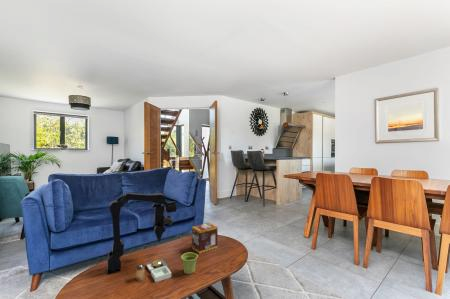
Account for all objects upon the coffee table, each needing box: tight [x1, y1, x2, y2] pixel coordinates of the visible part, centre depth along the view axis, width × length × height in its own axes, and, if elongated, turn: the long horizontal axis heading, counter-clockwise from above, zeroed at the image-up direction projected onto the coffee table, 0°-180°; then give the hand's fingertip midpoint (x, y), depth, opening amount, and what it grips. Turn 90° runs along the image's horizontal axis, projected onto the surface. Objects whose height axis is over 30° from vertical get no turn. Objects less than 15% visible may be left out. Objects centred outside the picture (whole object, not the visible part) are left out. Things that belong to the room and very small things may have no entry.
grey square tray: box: [145, 259, 169, 274], centre depth 130 cm, size 10×10×1 cm
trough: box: [150, 266, 172, 283], centre depth 121 cm, size 9×9×2 cm
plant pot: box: [180, 252, 199, 275], centre depth 125 cm, size 9×9×9 cm
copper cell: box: [136, 264, 146, 282], centre depth 118 cm, size 4×4×7 cm
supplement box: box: [191, 222, 219, 254], centre depth 156 cm, size 10×15×16 cm
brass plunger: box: [151, 259, 162, 268], centre depth 130 cm, size 5×5×2 cm
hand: (158, 238), depth 138 cm, fingers open, 9 cm apart
